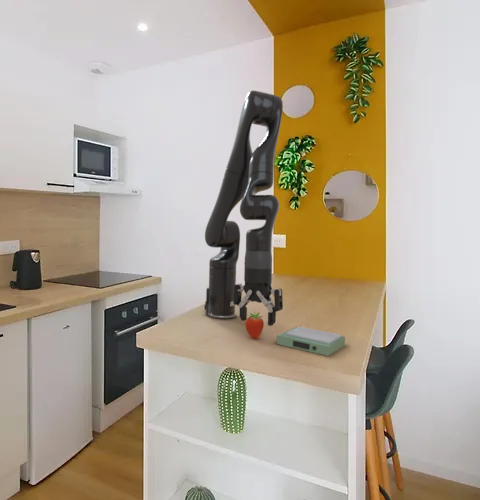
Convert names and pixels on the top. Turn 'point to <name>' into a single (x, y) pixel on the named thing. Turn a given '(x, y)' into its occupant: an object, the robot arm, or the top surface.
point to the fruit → (254, 325)
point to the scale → (311, 340)
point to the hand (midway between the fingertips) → (256, 322)
